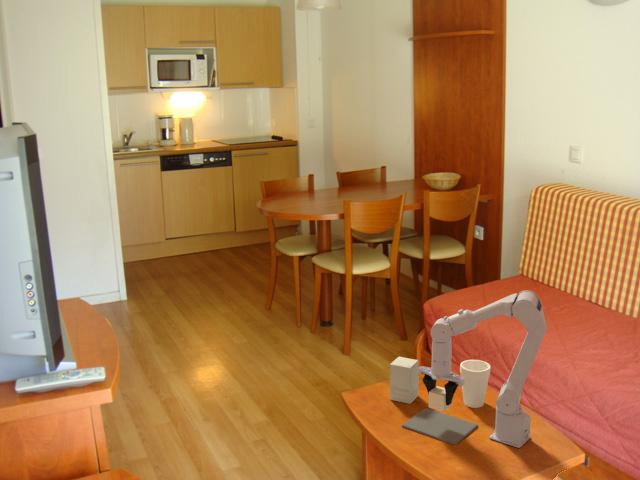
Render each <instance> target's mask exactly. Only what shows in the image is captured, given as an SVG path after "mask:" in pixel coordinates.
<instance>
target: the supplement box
mask: <svg viewBox="0 0 640 480" xmlns="http://www.w3.org/2000/svg"><path fill="white" fill-rule="evenodd" d="M419 365H420V364H419V359H414V358H410V357H409V358H408V357H403V356H398V357H396V358H395V359H394V360H393V361H392V362H391V363H390V364H389V400H391V401H394V402H395V401H396V402H399V403H405V404H409V405H411V403H413V402H414V401H415V400H416V399H417V397H419V380H420V379H419V375H420V374H418V368H419V367H420V366H419Z"/></svg>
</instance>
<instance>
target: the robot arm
mask: <svg viewBox="0 0 640 480" xmlns="http://www.w3.org/2000/svg"><path fill="white" fill-rule="evenodd" d="M544 313H545V312H544V309H543V302H542V301H541V299H540V298H539V296H538V295H537V293H535V292H534V291H532V290H522V291H519V293H512V294H510V295H507V296H505V297H503V298H500V299H499V300H496V301H494V302H491V303H489V304H487V305H485V306H483V307H480V308H478V309H476V310H470V309H465V310H464V309H463V308H461V309H459V310H458V311H457V313H455V314H452V315H450V316H447V315H445V316H444V317H441V318H438V319H437V320H436V321H435V322H434V324H432V327H431V328H430V332H429V333H430V337H431V339H432V343H431V367H428V366H424V365H421V366H419V368H418V374H419V375H420V376H421V375H424V376H423V377H422V378H421V379H422V380H421V381H422V383H423V384H424V386H425V388H426V390H427V394H428V396H429V391H431V390H432V389H434V388H435V387H436V386H437V381H439V380H441V381H445V382H446V383H445V384H444V386H443V388H445V391H446V405H448V406H449V405H450V404H451V403H452V401H453V399H454V395H455V392H456V390H457V388H458V387H462V386H463V385H464V384H465V378H463V377H461V375H458V374H456V373H454V372H452V352H453V349H452V345H453V344H452V336H453V337H454V336H458V335H461V334H463V333H466V332H468V331H470V330H474V329H476V327H477V325H478V323H480V322H483V321H486V320H489V319H491V318H495V317H498V316H500V315H504V316H506V317H508V318H511V319H512V318H513V316H514V318H515V319H516V320H517V321H519V322H520V323H521V324H522V326H524V328H525V329H526V331H527V332H526V335H525V337H524V340H523V342H522V344H521V347H520V350H519V352H518V354H517V357H516V360H515V362H514V364H513V367H512V369H511V371H510V374H509V376H508V378H507V380H506V381H505V382H504V383H503V384H502V385H501V387H500V388H499V389H500V391H499V394H498V397H497V399H496V401H495V405H496V406H495V421H494V422H495V425H494V427H495V428H494V432H493V433H491V435H489V439H491V440H493V441H496V442H499V443H502V444H505V445H509V446H512V447H514V448H516V449H517V448H518V449H520V448H521V447H523V445H524V444H526V443H527V441H529V440H530V438H531V437H532V436H531V435H530V434H531V421H532V419H531V415H530V414H528V413H527V412H525V411H524V410H523V407H522V406H521V404H520V403H521V402H520V401H521V398H522V396H523V388H524V386H525V382H526V381H527V378H528V376H529V374H530V371H531V369H532V366H533V364H534V361H535V359H536V356H537V354H538V352H539V349H540V348H541V344H542V342H543V340H544V337H545V335H546V332H547V327H548V326H547V322H546V321H547V320H546V318H545V317H546V316H545V314H544Z"/></svg>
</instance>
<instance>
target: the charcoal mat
mask: <svg viewBox="0 0 640 480" xmlns="http://www.w3.org/2000/svg"><path fill="white" fill-rule="evenodd" d="M478 426H479V425H478V423H475V422H472V421H468V420H466V419H463V418H459V417H457V416H453V415H450V414H446V413H444V412H442V411H439V410H435V409H432V408H429V407H428V408H427V407H426V408H424V409H422V410H421V411H419V412H418V413H416V414H415V415H414V416H411V418H410V419H408V420H406V421H405V422H404V423H402V424H401V427H402V428H405V429H407V430H410V431H413V432H416V433H418V434H419V433H420V434H422V435H425V436H427V437H430V438H433V439H436V440H439V441H442V442H445V443H447V444H451V445H454V446H456V445H457V444H459V443H460V442H461V441H463V440H464V439H465V438H466V437H467V436H468V435H469V434H471V433H472V432H473V431H474V430H476V429H477V427H478Z"/></svg>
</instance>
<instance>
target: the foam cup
mask: <svg viewBox="0 0 640 480" xmlns="http://www.w3.org/2000/svg"><path fill="white" fill-rule="evenodd" d="M459 373H460V377H463V378H465V384H464V385H463V386H461V391H462V398H463V404H464V405H465V406H467V407H468V408H473V409H474V408H475V409H477V408H481V407H483V406H484V405H485V399H486V394H487V391H488V390H487V389H488V383H489V378H490V375H491V364H490V363H488V362H487V361H484V360H480V359H467V360H464V361H462V362H460V364H459Z"/></svg>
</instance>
